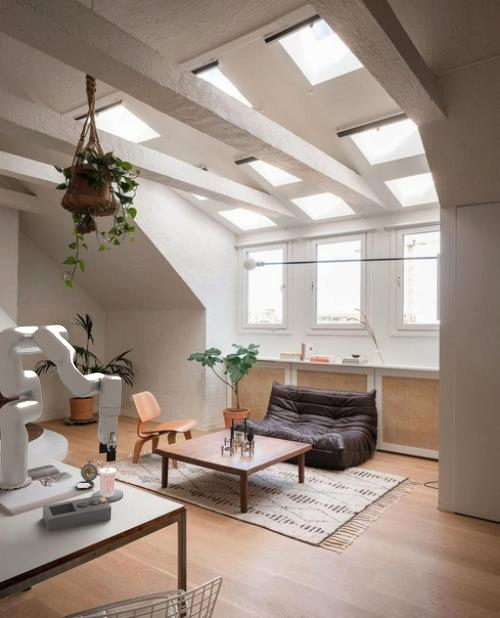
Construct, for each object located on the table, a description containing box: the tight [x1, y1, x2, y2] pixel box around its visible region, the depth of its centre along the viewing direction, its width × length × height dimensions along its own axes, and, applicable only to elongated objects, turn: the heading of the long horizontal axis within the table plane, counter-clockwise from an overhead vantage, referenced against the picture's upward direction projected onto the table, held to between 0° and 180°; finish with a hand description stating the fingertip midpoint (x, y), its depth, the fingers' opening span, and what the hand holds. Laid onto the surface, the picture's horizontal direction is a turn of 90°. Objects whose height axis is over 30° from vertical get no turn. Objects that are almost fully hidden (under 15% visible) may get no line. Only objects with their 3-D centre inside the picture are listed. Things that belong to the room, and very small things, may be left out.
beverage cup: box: [98, 462, 117, 497], centre depth 174 cm, size 6×6×14 cm
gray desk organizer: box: [42, 495, 112, 533], centre depth 156 cm, size 11×19×5 cm, turn 122°
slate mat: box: [91, 488, 124, 504], centre depth 174 cm, size 11×11×1 cm
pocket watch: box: [76, 457, 99, 489], centre depth 184 cm, size 8×8×10 cm
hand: (107, 457), depth 174 cm, fingers open, 9 cm apart
